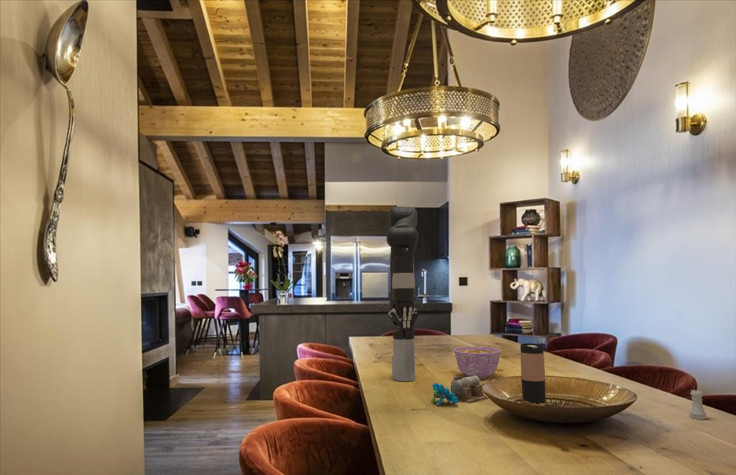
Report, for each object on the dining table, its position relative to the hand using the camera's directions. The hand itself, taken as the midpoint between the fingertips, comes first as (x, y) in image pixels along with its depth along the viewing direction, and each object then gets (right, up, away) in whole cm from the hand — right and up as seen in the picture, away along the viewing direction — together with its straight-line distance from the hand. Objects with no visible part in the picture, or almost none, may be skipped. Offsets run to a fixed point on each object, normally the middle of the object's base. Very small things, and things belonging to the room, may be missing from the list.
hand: (404, 339), depth 157 cm
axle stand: (+23, -24, +12) cm, 35 cm away
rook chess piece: (+88, -21, -14) cm, 91 cm away
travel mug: (+44, -23, +3) cm, 50 cm away
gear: (+14, -24, +5) cm, 28 cm away
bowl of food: (+36, -27, +48) cm, 66 cm away
